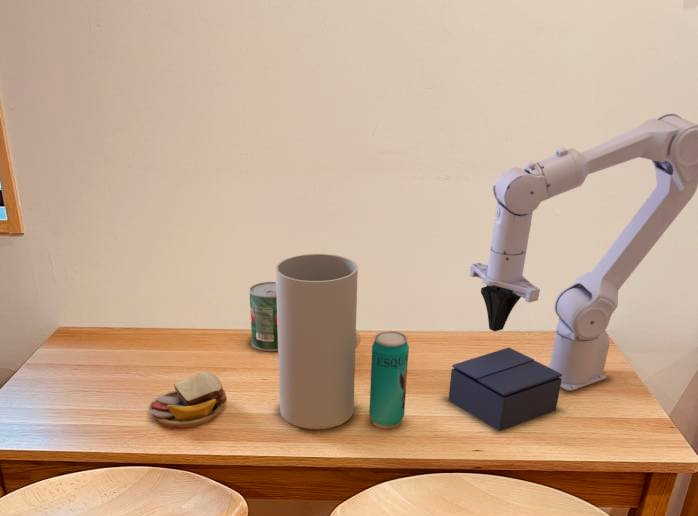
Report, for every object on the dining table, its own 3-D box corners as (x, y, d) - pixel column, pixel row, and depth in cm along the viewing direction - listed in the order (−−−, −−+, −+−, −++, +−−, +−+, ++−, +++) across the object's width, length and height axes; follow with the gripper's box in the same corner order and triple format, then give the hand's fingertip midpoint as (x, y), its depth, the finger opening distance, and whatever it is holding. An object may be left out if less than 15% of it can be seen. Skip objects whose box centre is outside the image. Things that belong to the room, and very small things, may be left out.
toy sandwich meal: (142, 401, 148) (139, 377, 145) (217, 389, 152) (215, 364, 149) (157, 435, 139) (153, 409, 136) (236, 421, 142) (234, 395, 139)
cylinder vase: (269, 424, 141) (263, 276, 126) (294, 391, 150) (292, 250, 135) (340, 436, 137) (343, 285, 122) (362, 402, 147) (367, 258, 132)
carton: (448, 400, 147) (451, 364, 143) (503, 381, 152) (508, 347, 148) (498, 431, 138) (504, 394, 134) (555, 410, 143) (562, 374, 139)
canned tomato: (250, 336, 170) (247, 282, 163) (289, 333, 171) (288, 280, 164) (253, 352, 164) (250, 297, 157) (293, 350, 164) (292, 295, 158)
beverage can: (401, 432, 138) (407, 346, 129) (366, 429, 139) (370, 343, 130) (405, 415, 143) (411, 331, 134) (371, 412, 144) (374, 329, 135)
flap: (452, 366, 143) (452, 364, 143) (508, 349, 148) (508, 347, 148) (477, 380, 139) (477, 377, 138) (534, 361, 144) (534, 359, 143)
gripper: (460, 241, 140) (450, 319, 148) (521, 266, 130) (508, 349, 138) (492, 234, 143) (481, 311, 151) (554, 259, 133) (539, 340, 141)
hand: (496, 329), depth 145 cm, fingers closed
